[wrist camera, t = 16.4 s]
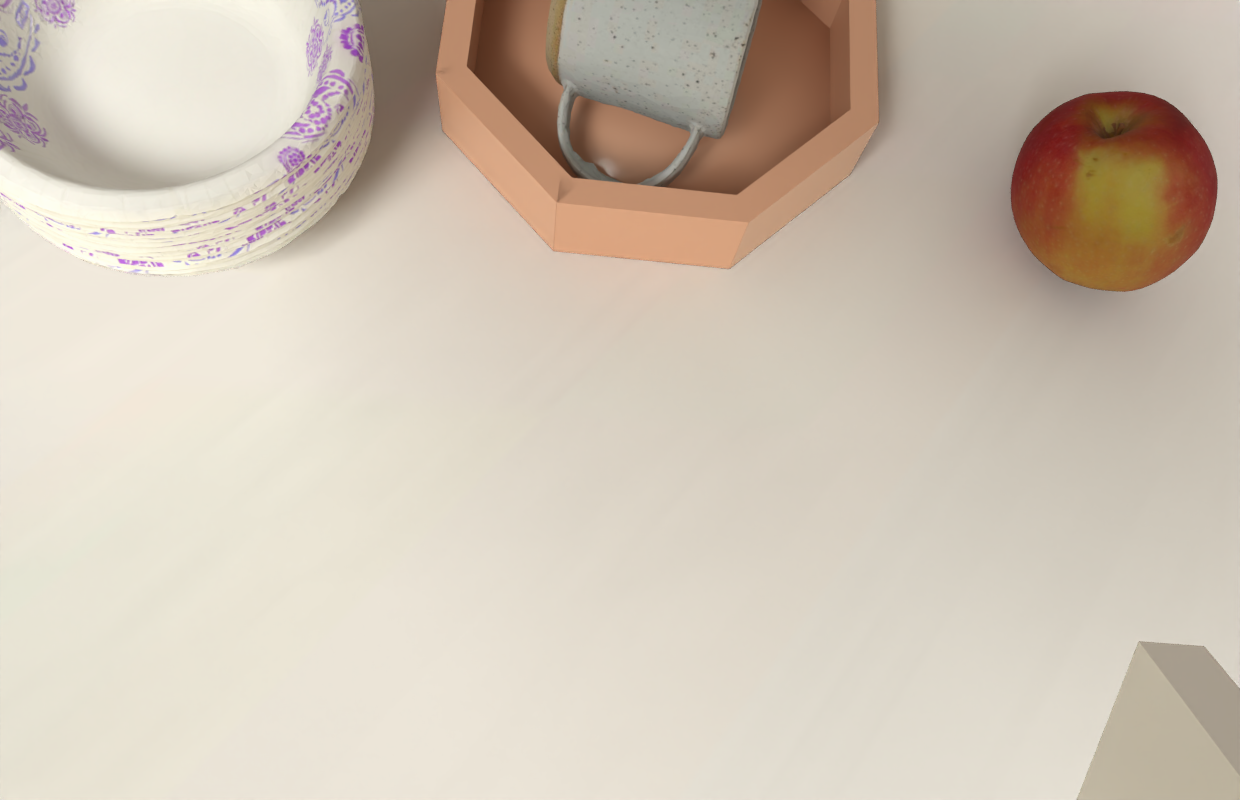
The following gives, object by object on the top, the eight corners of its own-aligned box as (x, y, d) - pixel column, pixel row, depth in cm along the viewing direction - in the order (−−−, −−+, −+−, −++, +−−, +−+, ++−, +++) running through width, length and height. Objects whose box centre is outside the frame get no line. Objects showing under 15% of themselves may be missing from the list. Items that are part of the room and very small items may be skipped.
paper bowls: (425, 261, 44) (405, 156, 36) (45, 352, 41) (-60, 258, 34) (343, -22, 48) (311, -167, 41) (-4, 42, 45) (-106, -102, 38)
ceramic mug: (581, -11, 48) (591, -148, 41) (752, 36, 48) (793, -92, 41) (515, 182, 44) (513, 70, 37) (700, 233, 44) (733, 131, 37)
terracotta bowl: (426, 238, 44) (418, 188, 40) (475, -98, 50) (472, -167, 47) (851, 281, 45) (881, 236, 41) (847, -52, 52) (872, -117, 48)
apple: (1118, 159, 49) (1227, 47, 41) (1165, 316, 46) (1290, 228, 39) (964, 165, 48) (1047, 52, 40) (1003, 326, 45) (1099, 237, 38)
